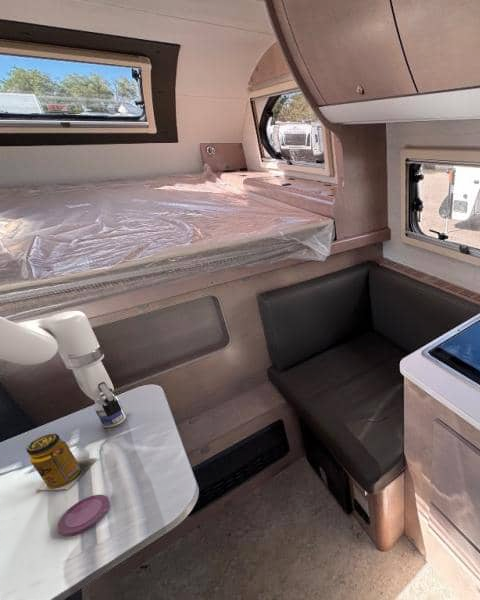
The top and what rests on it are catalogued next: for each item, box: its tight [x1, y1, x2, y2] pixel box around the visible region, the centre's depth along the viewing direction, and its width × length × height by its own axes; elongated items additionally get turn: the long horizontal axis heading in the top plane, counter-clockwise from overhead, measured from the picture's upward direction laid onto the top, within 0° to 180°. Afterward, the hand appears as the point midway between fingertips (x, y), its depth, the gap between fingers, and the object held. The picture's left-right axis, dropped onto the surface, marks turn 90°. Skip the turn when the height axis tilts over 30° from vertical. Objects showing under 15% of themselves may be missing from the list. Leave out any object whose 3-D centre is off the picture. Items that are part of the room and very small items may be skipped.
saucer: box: [56, 494, 111, 537], centre depth 70 cm, size 8×8×1 cm
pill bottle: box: [93, 392, 127, 428], centre depth 93 cm, size 5×5×10 cm
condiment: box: [26, 433, 98, 491], centre depth 77 cm, size 7×8×12 cm
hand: (108, 407), depth 93 cm, fingers open, 7 cm apart
